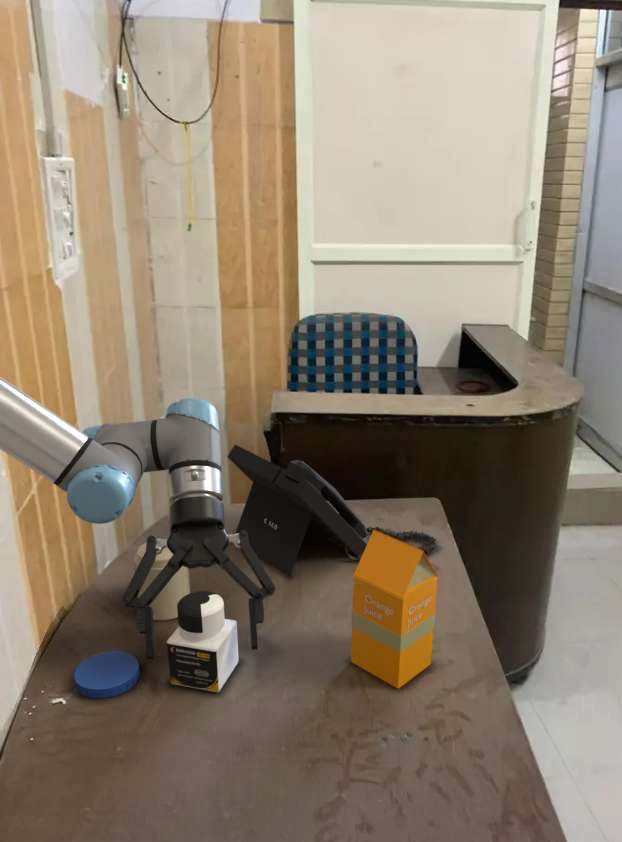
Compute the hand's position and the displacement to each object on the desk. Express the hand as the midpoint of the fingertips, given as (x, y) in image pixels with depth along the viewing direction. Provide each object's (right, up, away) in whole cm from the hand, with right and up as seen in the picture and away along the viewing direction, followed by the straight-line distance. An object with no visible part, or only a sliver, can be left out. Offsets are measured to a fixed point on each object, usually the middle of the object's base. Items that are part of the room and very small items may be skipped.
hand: (203, 653), depth 101 cm
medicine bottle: (-1, -4, +4) cm, 6 cm away
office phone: (+15, +11, +40) cm, 45 cm away
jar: (-10, +3, +19) cm, 22 cm away
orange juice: (+25, -3, +8) cm, 27 cm away
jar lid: (-14, -3, +2) cm, 14 cm away
